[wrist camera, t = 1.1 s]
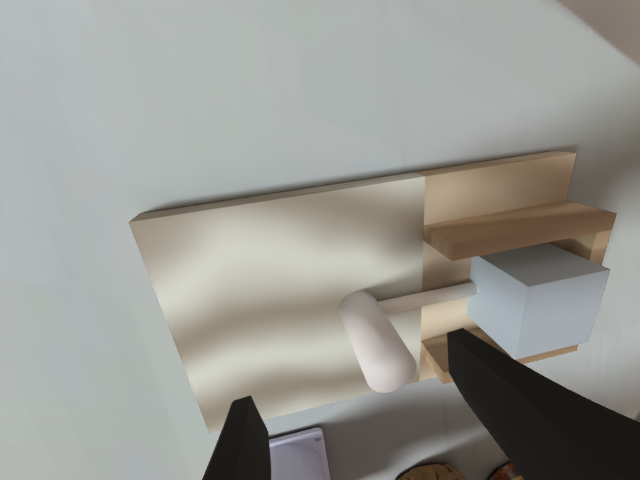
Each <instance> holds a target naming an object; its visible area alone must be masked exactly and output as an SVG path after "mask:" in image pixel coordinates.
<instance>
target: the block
mask: <svg viewBox="0 0 640 480" xmlns="http://www.w3.org/2000/svg"><path fill="white" fill-rule="evenodd" d="M398 480H465V479H464V477H463V476H462V474H461V473H460V472H459V470H458V469H456V468H455V467H453V466H451V465H447V464H444V465H439V464H430V465H424V466H419V467H416V468H413V469H411V470H410V471H409V472H407V473H405V474H404V475H403V476H402V477H401V478H399V479H398Z"/></svg>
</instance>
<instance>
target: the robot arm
mask: <svg viewBox="0 0 640 480" xmlns="http://www.w3.org/2000/svg"><path fill="white" fill-rule="evenodd" d="M447 346H448V365H449V374H450V375H451V377H452V379H453V381H454V382H455V384H456V386H457V387H458V389H459V391H460V392H461V394H462V396H463V397H464V399H465V401H466V402H467V403H468V405H469V406H470V407H471V409H472V410H473V412H474V413H475V414H476V416H477V417H478V418H479V420H480V421H481V422H482V424H483V425H484V426H485V428H486V429H487V430H488V432H489V433H490V434H491V436H492V437H493V438H494V440H495V441H496V442H497V444H498V445H499V446H500V448H501V449H502V450H503V452H504V453H505V454H506V456H507V457H508V458H509V460H510V461H511V462H512V464H513V465H514V466H515V468H516V469H517V471H518V472H519V473H520V475H521V476H522V478H523V479H524V480H640V422H637V421H635V420H633V419H630V418H628V417H626V416H624V415H621V414H619V413H617V412H615V411H612V410H610V409H608V408H606V407H604V406H602V405H600V404H597V403H595V402H593V401H591V400H589V399H587V398H585V397H583V396H581V395H579V394H576V393H575V392H573V391H571V390H569V389H567V388H565V387H563V386H561V385H559V384H557V383H555V382H553V381H552V380H550V379H548V378H546V377H544V376H542V375H541V374H539V373H537V372H535V371H533V370H532V369H530V368H528V367H527V366H525V365H523V364H521V363H520V362H518V361H516V360H514V359H513V358H511V357H509V356H508V355H506V354H504V353H503V352H501V351H500V350H498V349H496V348H495V347H493V346H491V345H490V344H488V343H487V342H485V341H483V340H482V339H480V338H479V337H477V336H475V335H474V334H472V333H470V332H469V331H467V330H466V329H464V328H460V329H457V330H454V331H451V332H448V333H447ZM202 480H330V474H329V467H328V461H327V455H326V449H325V442H324V436H323V431H322V429H321V428H318V427H317V428H313V429H309V430H305V431H301V432H297V433H293V434H289V435H285V436H282V437H278V438H274V439H270V440H269V435H268V431H267V428H266V426H265V424H264V422H263V420H262V418H261V416H260V414H259V412H258V409H257V407H256V405H255V403H254V401H253V399H252V397H251V395H250V396H246V397H243V398H240V399H237V400H234V401H233V402H232V403H231V406H230V409H229V412H228V414H227V417H226V420H225V423H224V426H223V428H222V431H221V434H220V436H219V439H218V442H217V444H216V447H215V449H214V452H213V454H212V457H211V459H210V462H209V464H208V466H207V469H206V471H205V474H204V476H203V479H202Z"/></svg>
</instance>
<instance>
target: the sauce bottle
mask: <svg viewBox="0 0 640 480" xmlns="http://www.w3.org/2000/svg"><path fill="white" fill-rule="evenodd" d="M490 480H524V479H523V478H522V476H521V475H520V473H519V472H518V471H517V469H516V468H515V466H514V465H513V464H512V462H508V463H506V465H504V466H503V467H501V468H500V469H498V470H497V471H496V472H495V473H494V474H493V475H492V477H491V478H490Z"/></svg>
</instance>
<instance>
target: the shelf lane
mask: <svg viewBox="0 0 640 480" xmlns="http://www.w3.org/2000/svg"><path fill="white" fill-rule="evenodd" d="M576 155H577V153H571V152H561V151H551V152H544V153H537V154H531V155H524V156H518V157H511V158H504V159H498V160H491V161H485V162H478V163H471V164H465V165H458V166H452V167H445V168H438V169H432V170H425V171H419V172H412V173H405V174H399V175H392V176H386V177H379V178H372V179H366V180H359V181H353V182H346V183H339V184H333V185H326V186H320V187H313V188H306V189H300V190H293V191H287V192H280V193H273V194H267V195H260V196H253V197H247V198H240V199H234V200H227V201H220V202H214V203H207V204H201V205H194V206H187V207H181V208H174V209H168V210H161V211H154V212H148V213H141V214H139V215H137V216H136V217H135V218H134V219H132V220H131V221H130V222H129V224H130V227H131V230H132V232H133V235H134V238H135V240H136V243H137V245H138V248H139V251H140V253H141V256H142V258H143V261H144V264H145V266H146V269H147V272H148V274H149V277H150V279H151V282H152V285H153V287H154V290H155V292H156V295H157V298H158V300H159V303H160V306H161V308H162V311H163V313H164V316H165V319H166V321H167V324H168V326H169V329H170V332H171V334H172V337H173V339H174V342H175V345H176V347H177V350H178V353H179V355H180V358H181V360H182V363H183V366H184V368H185V371H186V373H187V376H188V379H189V381H190V384H191V387H192V389H193V392H194V394H195V397H196V400H197V402H198V405H199V407H200V410H201V413H202V415H203V418H204V421H205V423H206V426H207V428H208V431H209V433H212V432H216V431H220V430H222V428H223V426H224V423H225V420H226V417H227V414H228V412H229V409H230V406H231V403H232V402H233V401H234V400H237V399H240V398H243V397H246V396H250V395H251V397H252V399H253V401H254V403H255V405H256V407H257V409H258V412H259V414H260V416H261V418H262V420H265V419H269V418H273V417H277V416H281V415H285V414H289V413H293V412H297V411H301V410H305V409H309V408H313V407H317V406H321V405H325V404H329V403H333V402H337V401H341V400H345V399H349V398H353V397H358V396H362V395H366V394H370V393H374V392H377V391H374V390H373V389H371V388H370V387H369V385H368V384H367V381H366V379H365V376H364V374H363V372H362V369H361V367H360V364H359V362H358V359H357V357H356V354H355V352H354V349H353V347H352V345H351V342H350V340H349V337H348V335H347V332H346V330H345V327H344V325H343V323H342V320H341V318H340V315H339V306H340V303H341V301H342V300H343V299H344V298H345V297H346V296H347V295H349V294H350V293H352V292H355V291H367V292H369V293H371V294H372V295H373V296H374V297H375V299H376V300H377V302H378V301H382V300H387V299H392V298H397V297H402V296H406V295H411V294H416V293H421V292H426V291H430V290H435V289H440V288H445V287H450V286H455V285H459V284H464V283H469V281H470V271H471V261H472V257H476V256H481V255H486V254H491V253H496V252H501V251H506V250H512V249H517V248H522V247H527V246H532V245H537V244H542V243H549V244H552V245H554V246H556V247H559V248H561V249H564V250H566V251H568V252H571V253H573V254H575V255H578V256H580V257H582V258H585V259H587V260H589V261H592V262H594V263H597V264H599V265H602V262H603V258H604V255H605V251H606V248H607V245H608V241H609V238H610V234H611V231H612V227H613V224H614V221H615V217H616V214H617V213H613V212H610V211H606V210H602V209H598V208H594V207H590V206H586V205H583V204H579V203H575V202H571V201H567V196H568V191H569V187H570V182H571V177H572V173H573V168H574V164H575V159H576ZM467 302H468V297H465V298H460V299H456V300H451V301H446V302H442V303H437V304H432V305H428V306H423V307H418V308H414V309H409V310H404V311H400V312H395V313H390V314H386V316H387V317H388V319H389V320H390V322H391V323H392V325H393V326H394V328H395V329H396V331H397V333H398V334H399V336H400V337H401V339H402V340H403V342H404V343H405V345H406V346H407V348H408V350H409V351H410V353H411V354H412V356H413V357H414V359H415V361H416V364H417V368H416V372H415V375H414V377H413V378H412V379H411V381H410V382H409V383H408V384H410V383H414V382H418V381H422V380H426V379H430V378H434V377H438V378H439V379H440V381H441V382H442V384H446V383H450V382H454V381H453V379H452V377H451V375H450V374H449V365H448V346H447V333H448V332H451V331H454V330H457V329H460V328H464V329H466V330H467V331H469V332H470V333H472V334H474V335H475V336H477V337H479V338H480V339H482V340H483V341H485V342H487V343H488V344H490V345H491V346H493V347H495V348H496V349H498V350H500V351H501V352H503V353H504V354H506V355H508V356H509V357H511V356H510V355H509V354H508V353H507V352H506V351H505V350H504V349H503V348H501V347H500V346H499V345H498V344H497V343H496V342H495V341H494V340H493V339H492V338H491V337H490V336H489V335H488V334H487V333H486V332H484V331H483V330H482V329H481V328H480V327H479V326H478V325H477V324H476V323H475V322H474V321H473V320H472V319H471V318H470V317H468V316H467V315H466V312H467ZM577 347H578V344H577V345H573V346H569V347H565V348H561V349H557V350H553V351H549V352H545V353H541V354H537V355H533V356H529V357H525V358H521V359H517V360H516V361H518V362H520V363H521V364H525V363H529V362H533V361H537V360H541V359H545V358H549V357H553V356H557V355H561V354H565V353H569V352H573V351H577ZM511 358H512V357H511Z"/></svg>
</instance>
